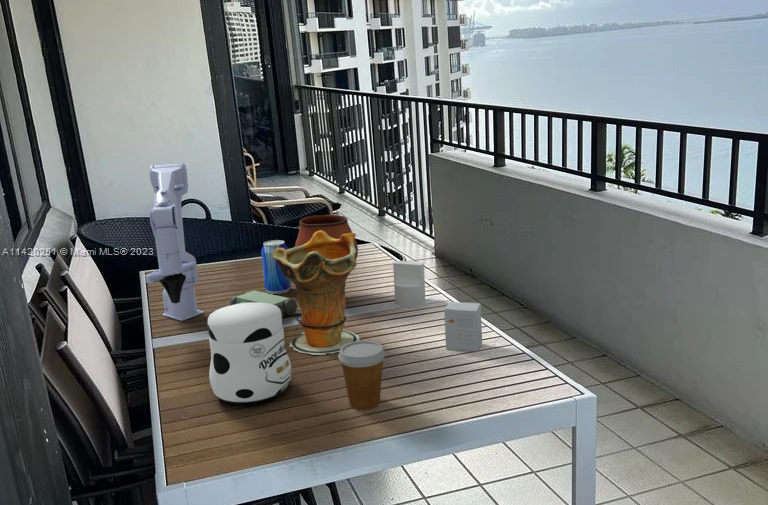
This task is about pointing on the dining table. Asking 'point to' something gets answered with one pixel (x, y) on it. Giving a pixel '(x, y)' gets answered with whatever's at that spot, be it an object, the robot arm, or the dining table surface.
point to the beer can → (273, 269)
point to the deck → (266, 301)
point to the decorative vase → (320, 290)
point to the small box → (463, 326)
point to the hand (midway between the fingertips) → (175, 302)
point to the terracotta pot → (323, 228)
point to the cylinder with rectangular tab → (409, 283)
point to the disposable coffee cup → (362, 373)
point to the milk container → (248, 353)
